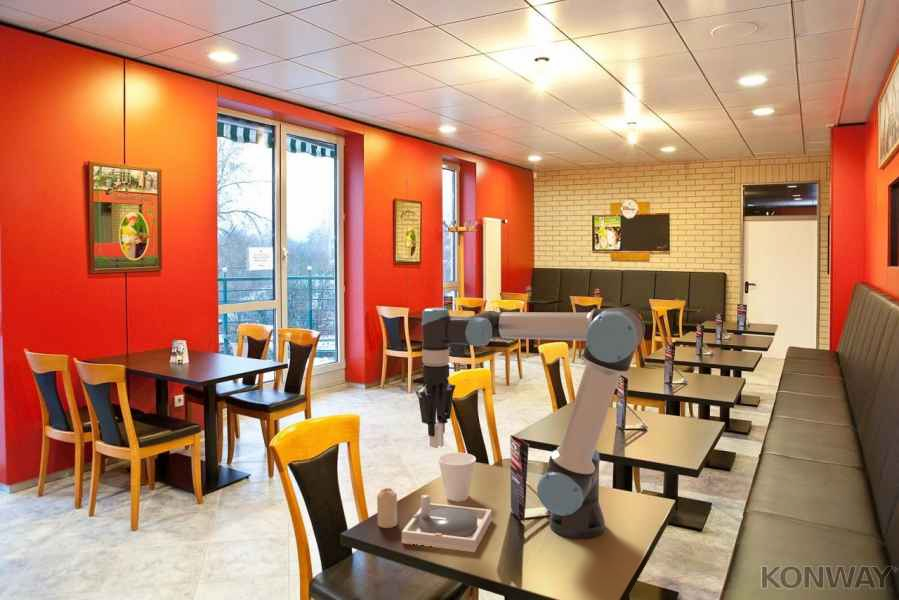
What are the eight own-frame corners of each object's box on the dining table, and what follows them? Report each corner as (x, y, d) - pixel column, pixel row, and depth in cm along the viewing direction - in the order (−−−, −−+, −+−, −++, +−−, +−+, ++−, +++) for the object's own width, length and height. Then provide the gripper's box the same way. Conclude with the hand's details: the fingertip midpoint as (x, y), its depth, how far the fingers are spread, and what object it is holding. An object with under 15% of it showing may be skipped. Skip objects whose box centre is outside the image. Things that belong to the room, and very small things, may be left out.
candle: (394, 529, 186) (393, 494, 185) (375, 527, 187) (374, 493, 186) (399, 520, 191) (398, 487, 190) (381, 519, 193) (380, 485, 192)
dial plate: (491, 520, 191) (491, 508, 191) (474, 552, 172) (474, 539, 172) (425, 512, 197) (425, 501, 196) (401, 543, 178) (401, 530, 177)
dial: (483, 518, 190) (483, 490, 189) (469, 543, 174) (469, 513, 174) (429, 512, 194) (429, 485, 193) (411, 536, 179) (411, 507, 178)
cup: (476, 504, 202) (476, 465, 201) (437, 504, 203) (437, 465, 201) (475, 489, 214) (475, 452, 213) (438, 489, 214) (438, 452, 213)
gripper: (445, 358, 193) (445, 437, 196) (407, 365, 183) (408, 448, 186) (463, 361, 188) (464, 443, 190) (425, 369, 178) (426, 455, 180)
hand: (436, 445), depth 188 cm, fingers closed
